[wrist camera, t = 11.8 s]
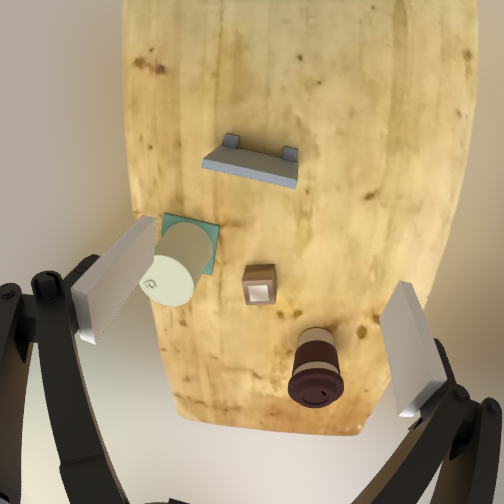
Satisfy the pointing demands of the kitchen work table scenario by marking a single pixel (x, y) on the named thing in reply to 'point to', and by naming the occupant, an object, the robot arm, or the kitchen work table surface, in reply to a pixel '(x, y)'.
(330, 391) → the coffee cup
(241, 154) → the screen
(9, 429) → the robot arm
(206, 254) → the can
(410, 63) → the kitchen work table surface
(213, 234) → the mat
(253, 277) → the letter cube
